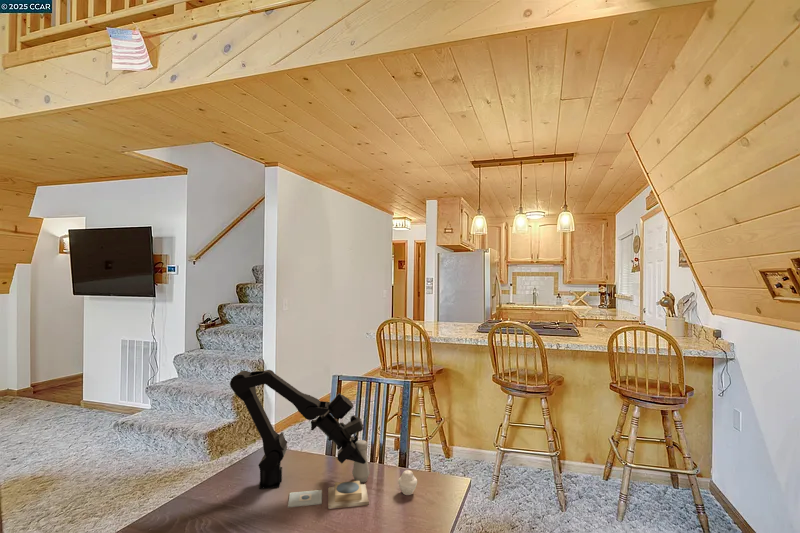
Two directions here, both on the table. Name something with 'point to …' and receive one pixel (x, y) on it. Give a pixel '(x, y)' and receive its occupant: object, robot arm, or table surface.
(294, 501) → the pale grey rectangular tile
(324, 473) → the table surface
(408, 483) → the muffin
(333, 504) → the foundation
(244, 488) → the table surface
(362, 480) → the beige mushroom knob
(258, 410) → the robot arm
